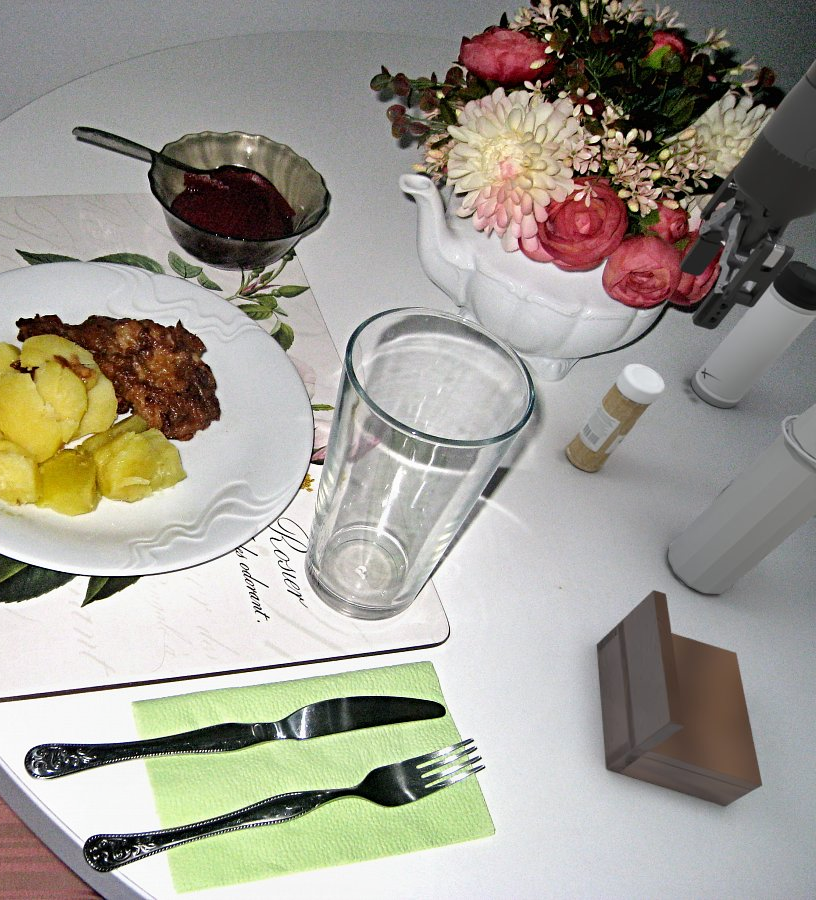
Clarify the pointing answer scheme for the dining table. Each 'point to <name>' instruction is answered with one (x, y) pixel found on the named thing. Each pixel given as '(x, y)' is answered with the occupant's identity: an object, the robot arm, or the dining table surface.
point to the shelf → (675, 708)
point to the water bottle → (752, 512)
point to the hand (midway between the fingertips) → (695, 297)
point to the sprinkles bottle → (615, 416)
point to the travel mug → (759, 337)
